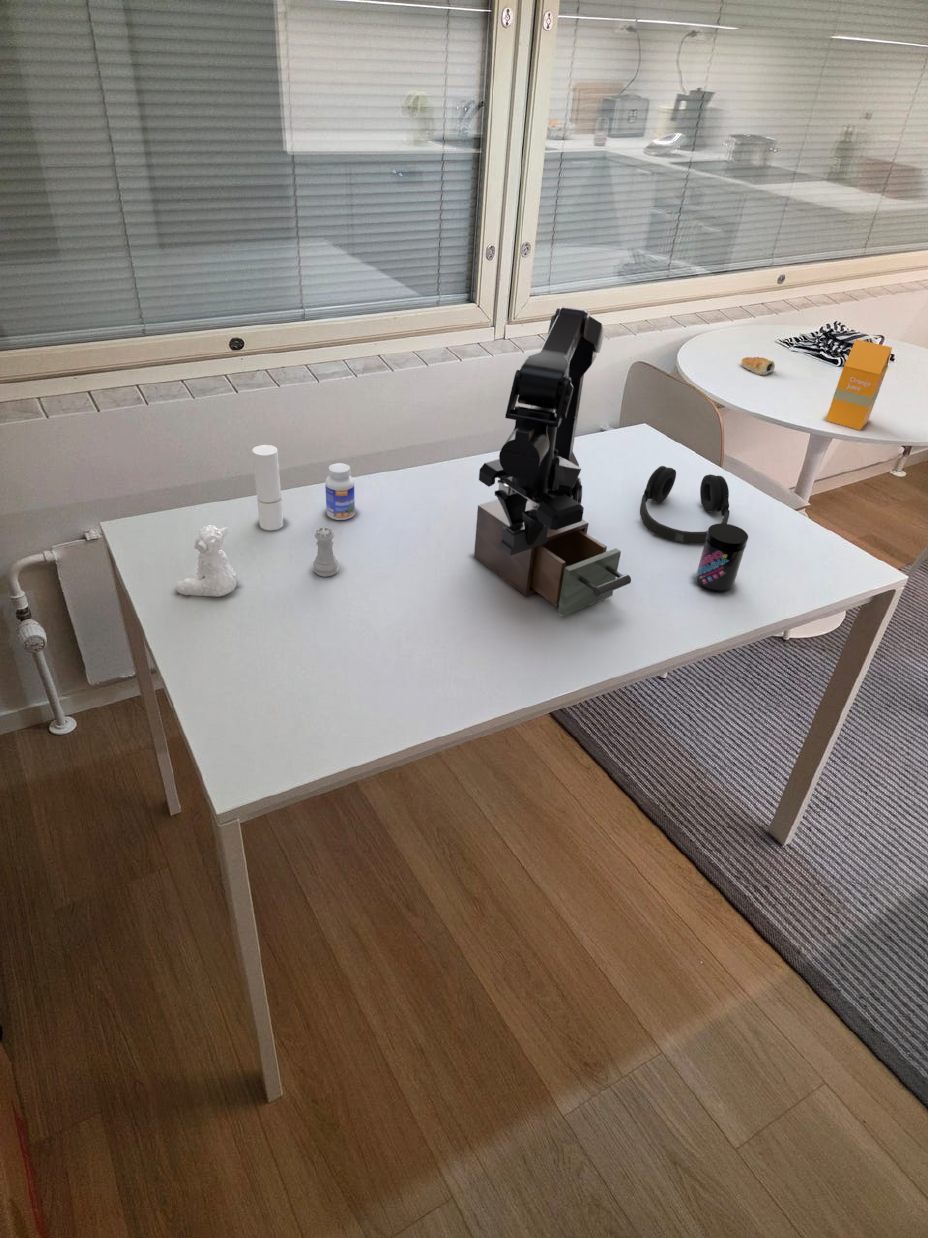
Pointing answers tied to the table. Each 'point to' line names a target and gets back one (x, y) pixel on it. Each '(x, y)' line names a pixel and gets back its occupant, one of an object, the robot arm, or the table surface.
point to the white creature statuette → (210, 566)
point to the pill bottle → (340, 492)
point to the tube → (268, 487)
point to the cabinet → (497, 560)
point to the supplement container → (721, 557)
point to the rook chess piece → (325, 554)
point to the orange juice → (859, 384)
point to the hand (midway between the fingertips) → (524, 539)
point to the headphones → (711, 498)
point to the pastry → (758, 365)
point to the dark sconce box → (519, 539)
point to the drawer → (576, 571)
